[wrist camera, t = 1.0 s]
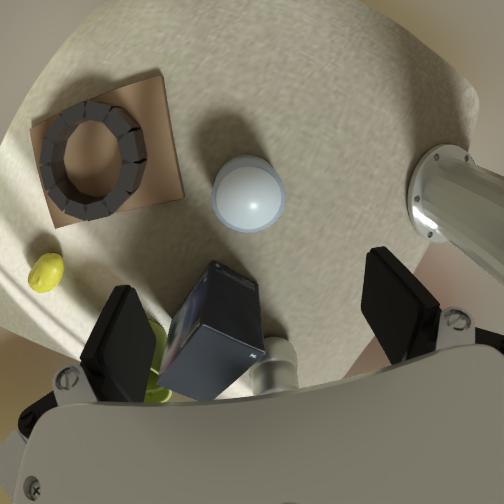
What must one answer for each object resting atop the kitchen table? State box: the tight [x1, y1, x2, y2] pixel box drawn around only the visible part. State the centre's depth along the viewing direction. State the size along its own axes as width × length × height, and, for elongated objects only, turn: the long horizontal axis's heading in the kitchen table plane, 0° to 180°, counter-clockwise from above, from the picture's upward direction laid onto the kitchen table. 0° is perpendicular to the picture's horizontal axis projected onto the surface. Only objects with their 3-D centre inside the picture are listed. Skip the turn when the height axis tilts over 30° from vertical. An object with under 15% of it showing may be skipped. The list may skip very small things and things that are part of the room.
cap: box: [211, 155, 286, 233], centre depth 24 cm, size 6×6×5 cm
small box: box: [157, 260, 265, 401], centre depth 27 cm, size 11×6×10 cm, turn 145°
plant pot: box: [144, 319, 172, 402], centre depth 30 cm, size 9×9×9 cm
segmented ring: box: [39, 101, 148, 221], centre depth 21 cm, size 11×11×2 cm
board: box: [30, 75, 185, 229], centre depth 23 cm, size 16×12×1 cm
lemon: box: [28, 253, 64, 293], centre depth 27 cm, size 4×8×4 cm, turn 117°
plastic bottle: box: [248, 337, 299, 396], centre depth 27 cm, size 6×7×20 cm
